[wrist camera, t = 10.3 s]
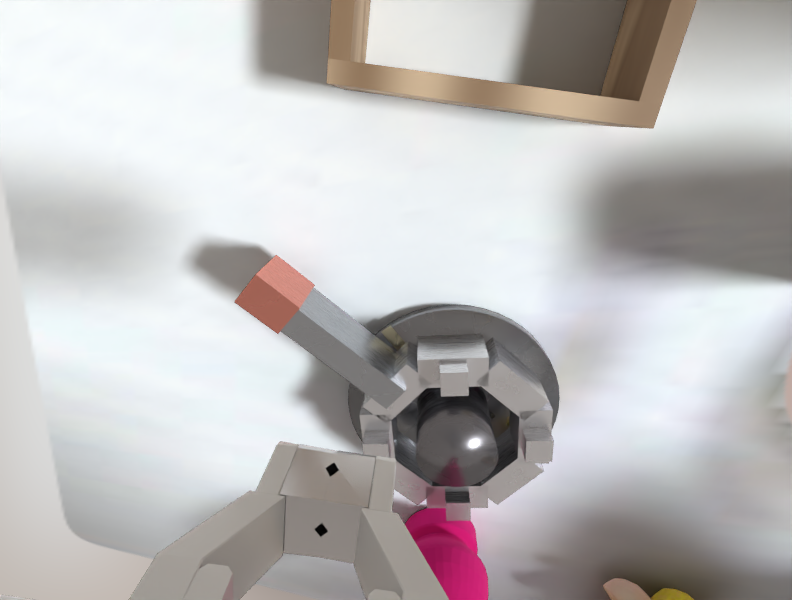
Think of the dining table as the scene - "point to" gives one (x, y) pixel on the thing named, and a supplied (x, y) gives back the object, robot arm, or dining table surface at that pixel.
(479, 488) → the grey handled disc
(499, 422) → the domed metal lid
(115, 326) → the dining table surface
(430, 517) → the pepper mill
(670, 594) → the decorative flower
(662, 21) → the square wooden frame
